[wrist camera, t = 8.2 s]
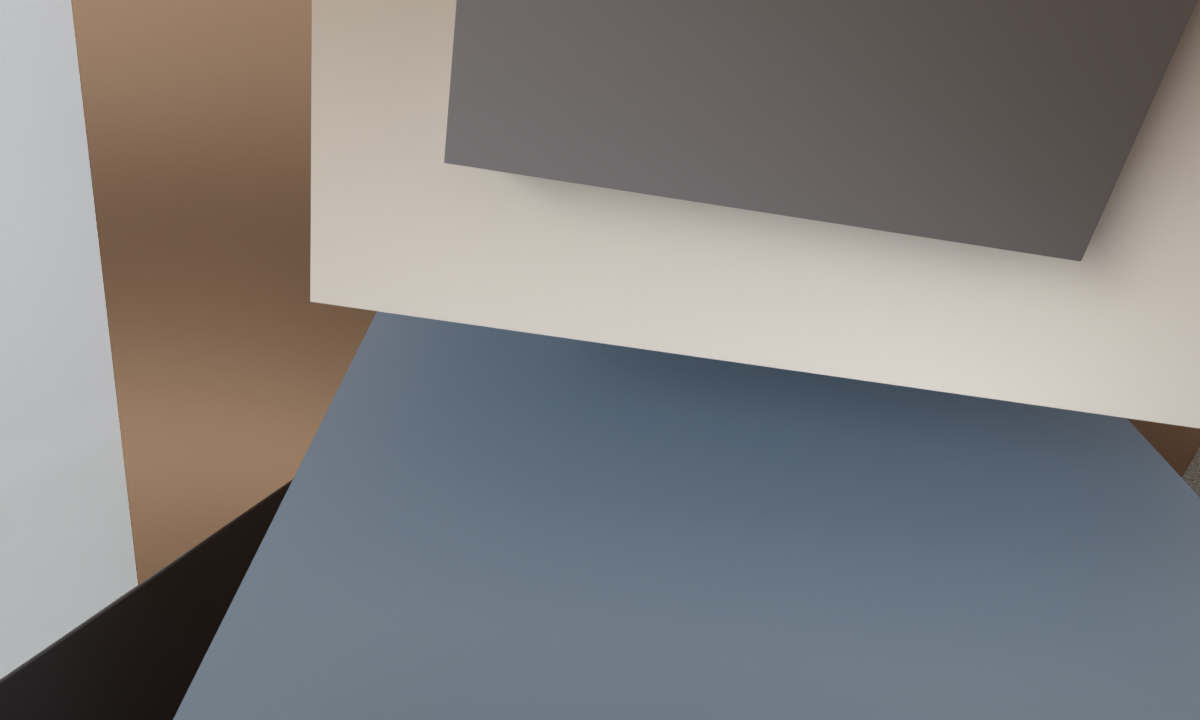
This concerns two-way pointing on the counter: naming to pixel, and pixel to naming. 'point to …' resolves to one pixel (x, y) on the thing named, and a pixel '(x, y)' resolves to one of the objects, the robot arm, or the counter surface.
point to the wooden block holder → (633, 204)
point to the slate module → (704, 549)
